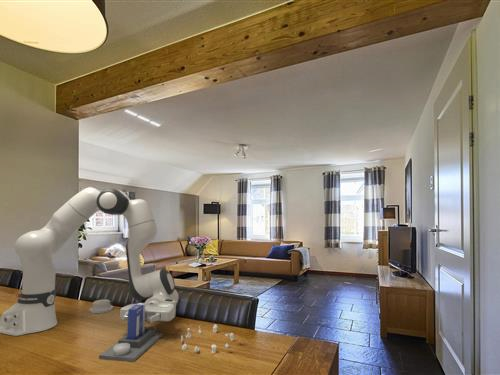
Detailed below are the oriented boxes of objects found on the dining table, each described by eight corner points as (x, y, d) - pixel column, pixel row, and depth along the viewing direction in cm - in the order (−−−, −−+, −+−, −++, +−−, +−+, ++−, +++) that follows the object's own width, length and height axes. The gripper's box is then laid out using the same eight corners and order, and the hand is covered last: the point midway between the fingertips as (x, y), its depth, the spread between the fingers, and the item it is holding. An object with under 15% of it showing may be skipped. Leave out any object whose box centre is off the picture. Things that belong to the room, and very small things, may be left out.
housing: (98, 358, 96) (99, 348, 97) (132, 334, 116) (132, 325, 116) (133, 361, 95) (134, 351, 95) (162, 336, 114) (162, 327, 114)
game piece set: (202, 328, 123) (202, 318, 123) (244, 339, 113) (244, 328, 113) (166, 346, 106) (167, 335, 106) (212, 361, 96) (212, 348, 96)
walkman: (134, 344, 105) (135, 308, 106) (126, 344, 105) (128, 308, 106) (144, 335, 112) (146, 302, 113) (137, 335, 113) (138, 301, 114)
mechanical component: (84, 313, 141) (103, 314, 139) (85, 303, 141) (104, 304, 139) (99, 306, 150) (117, 308, 148) (99, 297, 151) (117, 298, 149)
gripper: (131, 298, 124) (110, 308, 110) (179, 300, 120) (164, 312, 107) (130, 314, 123) (110, 326, 109) (178, 317, 120) (163, 330, 106)
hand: (137, 319), depth 108 cm, fingers open, 8 cm apart
